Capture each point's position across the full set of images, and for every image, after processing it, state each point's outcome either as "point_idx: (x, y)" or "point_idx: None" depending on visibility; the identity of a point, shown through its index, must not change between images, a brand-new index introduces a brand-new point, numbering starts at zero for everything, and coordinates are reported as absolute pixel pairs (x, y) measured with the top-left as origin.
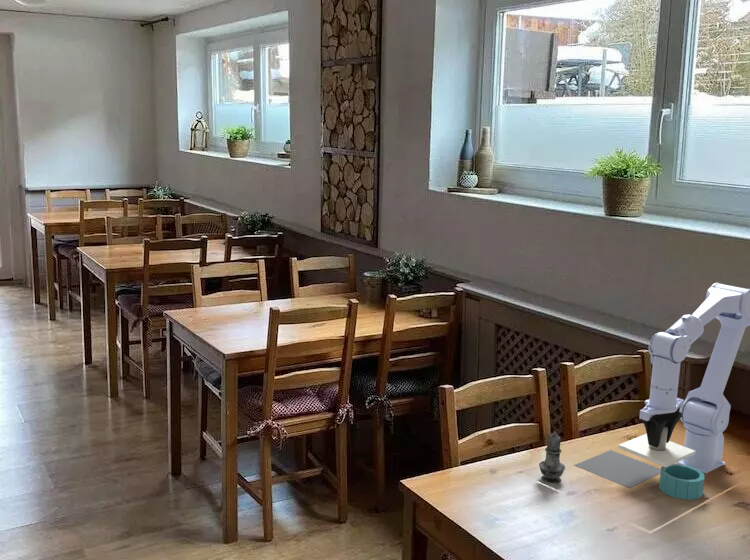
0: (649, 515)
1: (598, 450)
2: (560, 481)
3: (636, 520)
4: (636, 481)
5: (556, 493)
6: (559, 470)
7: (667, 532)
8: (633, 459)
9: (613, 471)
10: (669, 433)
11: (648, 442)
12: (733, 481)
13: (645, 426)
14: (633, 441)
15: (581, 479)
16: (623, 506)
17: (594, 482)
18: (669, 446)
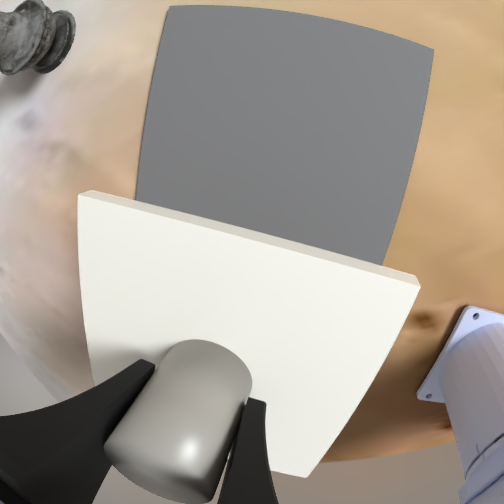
0: (68, 318)
1: (404, 8)
2: (46, 66)
3: (37, 298)
4: None
5: (12, 101)
6: (4, 71)
7: (51, 353)
8: (404, 162)
9: (216, 137)
10: (223, 480)
11: (131, 364)
12: (401, 440)
13: (45, 411)
14: (182, 248)
15: (100, 85)
16: (55, 257)
17: (107, 126)
18: (276, 416)
